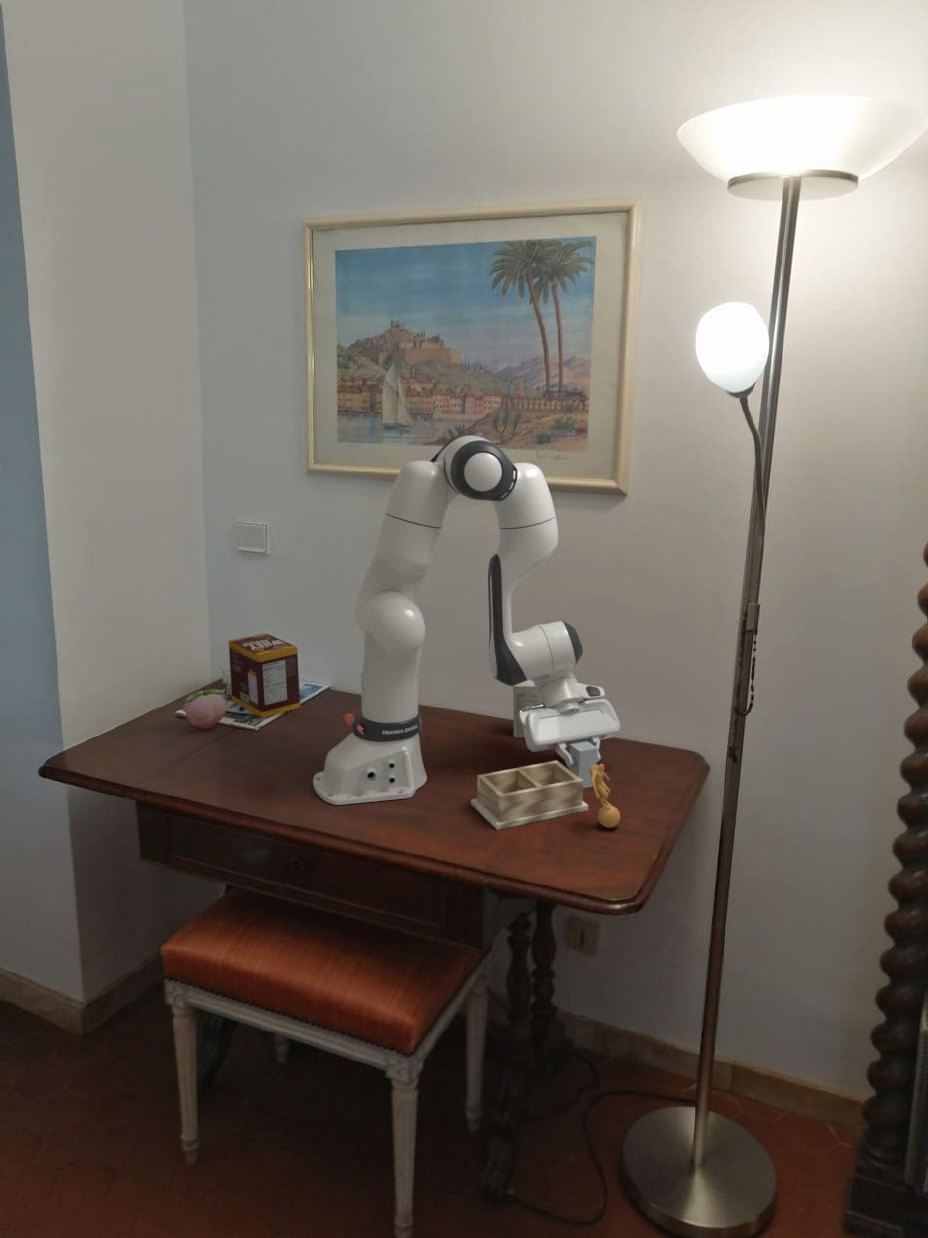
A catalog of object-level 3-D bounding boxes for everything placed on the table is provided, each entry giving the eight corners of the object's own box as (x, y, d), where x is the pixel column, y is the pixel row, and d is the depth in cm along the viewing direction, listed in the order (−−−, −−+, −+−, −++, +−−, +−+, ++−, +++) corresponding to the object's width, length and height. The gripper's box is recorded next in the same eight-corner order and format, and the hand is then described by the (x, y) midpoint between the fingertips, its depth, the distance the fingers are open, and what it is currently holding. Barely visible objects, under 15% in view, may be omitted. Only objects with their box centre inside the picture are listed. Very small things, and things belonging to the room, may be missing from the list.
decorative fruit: (214, 718, 226) (211, 678, 223) (233, 728, 220) (231, 686, 218) (177, 729, 219) (174, 687, 217) (197, 739, 214) (193, 696, 211)
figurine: (614, 839, 171) (617, 776, 168) (581, 833, 173) (583, 771, 170) (624, 818, 179) (627, 758, 176) (592, 813, 181) (594, 753, 178)
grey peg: (578, 789, 191) (579, 751, 188) (568, 781, 194) (569, 744, 192) (596, 785, 192) (597, 748, 190) (585, 777, 196) (586, 740, 194)
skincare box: (541, 731, 219) (543, 679, 216) (541, 738, 215) (542, 686, 212) (513, 730, 220) (514, 678, 217) (512, 737, 216) (513, 685, 213)
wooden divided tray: (496, 830, 174) (497, 799, 173) (471, 804, 184) (471, 775, 182) (588, 810, 182) (589, 780, 180) (558, 786, 192) (559, 758, 190)
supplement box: (268, 691, 244) (265, 632, 240) (301, 708, 232) (298, 646, 228) (231, 701, 237) (227, 639, 233) (262, 719, 226) (258, 654, 222)
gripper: (521, 701, 191) (543, 765, 185) (609, 686, 199) (634, 748, 193) (510, 714, 196) (532, 778, 190) (597, 700, 204) (621, 761, 198)
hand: (584, 763), depth 191 cm, fingers closed on grey peg, 4 cm apart
